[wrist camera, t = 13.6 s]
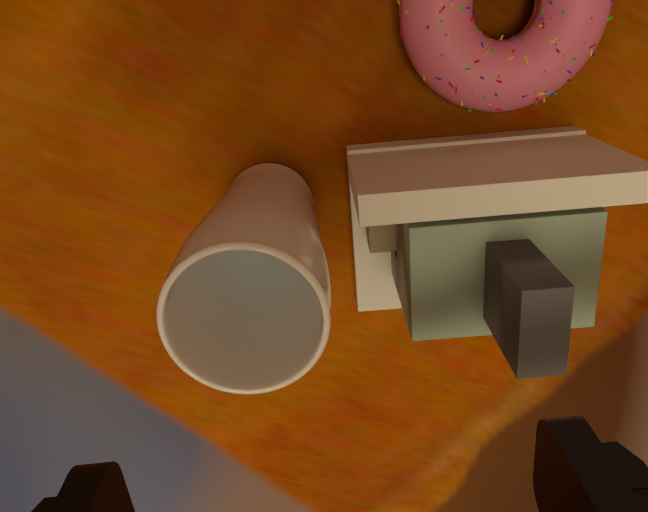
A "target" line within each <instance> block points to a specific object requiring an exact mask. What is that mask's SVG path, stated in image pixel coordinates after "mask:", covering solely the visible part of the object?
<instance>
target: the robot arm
mask: <svg viewBox="0 0 648 512" xmlns="http://www.w3.org/2000/svg"><path fill="white" fill-rule="evenodd" d="M533 488H534V494H535V499H536V502H537V506H538V509H539V512H648V467H647V466H646V465H645V463H644V462H643V461H642V460H640V459H639V458H638V457H637V456H635V455H634V454H633V453H631V452H630V451H629V450H627V449H626V448H625V447H623V446H622V445H620V444H619V443H618V442H616V441H615V442H606V443H601V442H600V440H599V439H598V437H597V436H596V434H595V433H594V431H593V430H592V428H591V427H590V425H589V424H588V423H587V422H586V420H585V419H584V418H583V417H582V416H571V417H561V418H551V419H542V420H539V422H538V424H537V431H536V444H535V457H534V471H533ZM31 512H135V511H134V507H133V504H132V501H131V498H130V495H129V492H128V489H127V486H126V483H125V480H124V477H123V474H122V471H121V468H120V466H119V464H118V463H116V462H105V463H95V464H85V465H76V466H74V467H73V468H72V469H71V470H70V471H69V473H68V475H67V477H66V479H65V481H64V483H63V485H62V487H61V489H60V491H59V493H58V496H57V497H47V498H44V499H43V500H42V501H41V502H40V503H39V504H38V505H37V506H36V507H35V508H34V509H33V510H32V511H31Z"/></svg>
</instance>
